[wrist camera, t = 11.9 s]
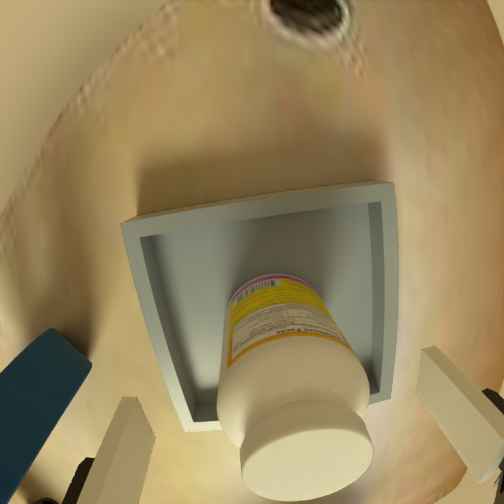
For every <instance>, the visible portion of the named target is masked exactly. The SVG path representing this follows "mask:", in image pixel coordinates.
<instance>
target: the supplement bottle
mask: <svg viewBox="0 0 504 504" xmlns="http://www.w3.org/2000/svg"><path fill="white" fill-rule="evenodd" d="M369 397H370V388H369V382H368V378H367V375H366V373H365V370H364V368H363V367H362V365H361V363H360V361H359V360H358V358H357V356H356V355H355V353H354V351H353V350H352V348H351V347H350V345H349V344H348V342H347V340H346V339H345V337H344V335H343V334H342V332H341V331H340V329H339V327H338V325H337V324H336V322H335V321H334V319H333V317H332V316H331V314H330V312H329V311H328V309H327V308H326V306H325V304H324V303H323V301H322V300H321V298H320V297H319V295H318V294H317V292H316V291H315V290H314V289H313V288H312V287H311V286H310V285H309V284H308V283H306V282H305V281H303V280H302V279H300V278H298V277H295V276H291V275H287V274H267V275H262V276H259V277H256V278H254V279H252V280H250V281H248V282H247V283H245V284H244V285H243V286H242V287H240V288H239V289H238V290H237V291H236V293H235V294H234V295H233V297H232V298H231V300H230V301H229V303H228V306H227V309H226V313H225V319H224V329H223V341H222V352H221V364H220V374H219V385H218V395H217V415H218V419H219V422H220V425H221V427H222V429H223V431H224V433H225V434H226V436H227V437H228V438H229V440H230V441H231V442H232V443H233V444H234V445H236V446H237V447H238V448H240V462H241V475H242V479H243V481H244V483H245V485H246V486H247V487H248V488H249V489H250V490H252V491H253V492H254V493H256V494H258V495H260V496H262V497H265V498H268V499H272V500H278V501H302V500H309V499H314V498H319V497H322V496H326V495H329V494H331V493H334V492H336V491H338V490H340V489H342V488H344V487H346V486H347V485H349V484H351V483H352V482H353V481H355V480H356V479H357V478H359V477H360V476H361V475H362V474H363V473H364V471H365V470H366V469H367V468H368V466H369V464H370V463H371V460H372V458H373V453H374V447H373V443H372V440H371V438H370V436H369V434H368V431H367V429H366V425H365V423H364V421H363V418H364V416H365V413H366V411H367V408H368V404H369Z"/></svg>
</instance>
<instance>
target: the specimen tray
mask: <svg viewBox="0 0 504 504" xmlns="http://www.w3.org/2000/svg"><path fill="white" fill-rule="evenodd" d="M120 224H121V229H122V234H123V238H124V243H125V247H126V252H127V256H128V260H129V264H130V268H131V272H132V276H133V280H134V284H135V288H136V291H137V295H138V299H139V302H140V306H141V309H142V313H143V316H144V320H145V323H146V326H147V330H148V333H149V336H150V339H151V342H152V345H153V349H154V352H155V355H156V358H157V361H158V364H159V366H160V369H161V372H162V375H163V378H164V381H165V383H166V386H167V389H168V392H169V394H170V397H171V400H172V402H173V405H174V407H175V410H176V412H177V415H178V417H179V420H180V422H181V425H182V427H183V430H184V432H190V431H209V430H223V429H222V427H221V425H220V422H219V419H218V415H217V395H218V385H219V374H220V364H221V352H222V341H223V329H224V319H225V313H226V309H227V306H228V303H229V301H230V300H231V298H232V297H233V295H234V294H235V293H236V291H237V290H238V289H239V288H240V287H242V286H243V285H244V284H245V283H247V282H248V281H250V280H252V279H254V278H256V277H259V276H262V275H267V274H287V275H291V276H295V277H298V278H300V279H302V280H303V281H305V282H306V283H308V284H309V285H310V286H311V287H312V288H313V289H314V290H315V291H316V292H317V294H318V295H319V297H320V298H321V300H322V301H323V303H324V304H325V306H326V308H327V309H328V311H329V312H330V314H331V316H332V317H333V319H334V321H335V322H336V324H337V325H338V327H339V329H340V331H341V332H342V334H343V335H344V337H345V339H346V340H347V342H348V344H349V345H350V347H351V348H352V350H353V351H354V353H355V355H356V356H357V358H358V360H359V361H360V363H361V365H362V367H363V368H364V370H365V373H366V375H367V378H368V382H369V388H370V397H369V404H373V403H377V402H380V401H384V400H387V399H391V391H392V382H393V373H394V363H395V351H396V338H397V320H398V282H399V268H398V230H397V212H396V198H395V186H394V183H392V182H384V181H365V182H356V183H347V184H338V185H329V186H321V187H313V188H305V189H297V190H290V191H282V192H275V193H268V194H261V195H255V196H248V197H241V198H235V199H229V200H223V201H216V202H210V203H205V204H199V205H193V206H187V207H182V208H176V209H171V210H165V211H160V212H155V213H150V214H144V215H139V216H136V217H133V218H131V219H129V220H127V221H125V222H122V223H120ZM369 404H368V405H369Z"/></svg>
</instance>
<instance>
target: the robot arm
mask: <svg viewBox="0 0 504 504" xmlns="http://www.w3.org/2000/svg"><path fill="white" fill-rule="evenodd" d="M415 394H416V395H417V397H418V398H419V399H420V401H421V402H422V404H423V405H424V406H425V408H426V409H427V410H428V412H429V413H430V415H431V416H432V417H433V419H434V420H435V422H436V423H437V424H438V426H439V427H440V429H441V430H442V431H443V433H444V434H445V436H446V437H447V438H448V440H449V441H450V443H451V444H452V446H453V447H454V449H455V450H456V451H457V453H458V454H459V456H460V457H461V459H462V460H463V462H464V463H465V465H466V466H467V468H468V469H469V470H470V472H471V473H472V475H473V476H474V478H475V479H476V481H477V483H478V484H480V483H482V482H483V481H485V480H487V479H488V478H490V477H492V476H493V474H494V473H495V472H496V470H497V468H498V467H499V468H500V470H501V471H502V472H501V473H500V475H499V477H498V478H497V480H496V481H495V483H494V485H493V487H495V486H496V485H497V483H498V487H497V492H496V498H495V502H494V504H504V399H503V398H502V397H501V396H500V395H499V394H498V393H497V392H494V391H492V390H490V389H488V388H487V389H485V390H483V391H480V390H479V389H478V388H477V386H476V385H475V384H474V383H473V382H472V381H471V380H470V379H469V378H468V377H467V376H466V375H465V374H464V373H463V372H462V371H461V370H460V369H459V368H458V367H457V366H456V365H455V364H454V363H453V362H452V361H451V360H450V359H449V358H448V357H447V356H446V355H444V354H443V353H442V352H441V351H440V350H439V349H438V348H437V347H436V346H435V345H434V346H431V347H428V348H425V349H422V353H421V361H420V368H419V375H418V381H417V387H416V393H415ZM155 438H156V437H155V435H154V433H153V431H152V429H151V427H150V425H149V422H148V420H147V418H146V416H145V414H144V412H143V409H142V407H141V405H140V403H139V400H138V398H137V397H122V399H121V401H120V403H119V405H118V408H117V410H116V412H115V414H114V416H113V419H112V421H111V423H110V425H109V427H108V430H107V432H106V434H105V436H104V439H103V441H102V443H101V446H100V448H99V450H98V453H97V455H96V457H95V458H88V457H86V458H85V459H84V460H83V461H82V462H81V463H80V464H79V466H78V468H77V470H76V472H75V476H74V477H73V479H72V481H71V482H72V483H70V486H69V488H68V490H67V493H66V495H65V497H64V500H63V502H62V504H139V500H140V496H141V492H142V488H143V484H144V480H145V476H146V472H147V468H148V464H149V461H150V457H151V453H152V449H153V446H154V442H155ZM30 504H59V503H58V502H57V501H55V500H53V499H51V498H42V499H39V500H38V501H36V502H35V503H34V502H33V503H30Z"/></svg>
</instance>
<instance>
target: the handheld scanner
mask: <svg viewBox="0 0 504 504" xmlns="http://www.w3.org/2000/svg"><path fill="white" fill-rule="evenodd" d="M91 368H92V363H91V362H90V361H89V360H88V359H87V358H86V357H85V356H84V355H82V354H81V353H80V352H79V351H78V350H77V349H76V348H75V347H74V346H73V345H72V344H70V343H69V342H68V341H67V340H66V339H65V338H64V337H63V336H62V335H61V334H60V333H59V332H58V331H57V330H56V329H55V328H51V329H48V330H47V331H45V332H44V333H42V334H41V335H40V336H39V337H37V338H36V339H35V340H34V341H33V342H32V343H31V344H30V345H28V346H27V347H26V348H25V349H24V350H23V351H22V352H21V353H20V354H19V355H18V356H17V357H16V358H15V359H14V360H13V361H12V362H11V363H10V364H9V365H8V366H7V367H6V368H5V369H4V370H3V371H2V372H1V373H0V504H8V502H9V501H10V499H11V497H12V496H13V494H14V493H15V491H16V489H17V488H18V486H19V484H20V483H21V481H22V480H23V478H24V476H25V475H26V473H27V471H28V470H29V468H30V466H31V465H32V463H33V461H34V460H35V458H36V456H37V455H38V453H39V451H40V450H41V448H42V447H43V445H44V443H45V442H46V440H47V438H48V437H49V435H50V434H51V432H52V430H53V429H54V427H55V426H56V424H57V422H58V421H59V419H60V418H61V416H62V415H63V413H64V411H65V410H66V408H67V407H68V405H69V404H70V402H71V400H72V399H73V397H74V396H75V394H76V393H77V391H78V390H79V388H80V386H81V385H82V383H83V382H84V380H85V379H86V377H87V375H88V374H89V372H90V370H91Z"/></svg>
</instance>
